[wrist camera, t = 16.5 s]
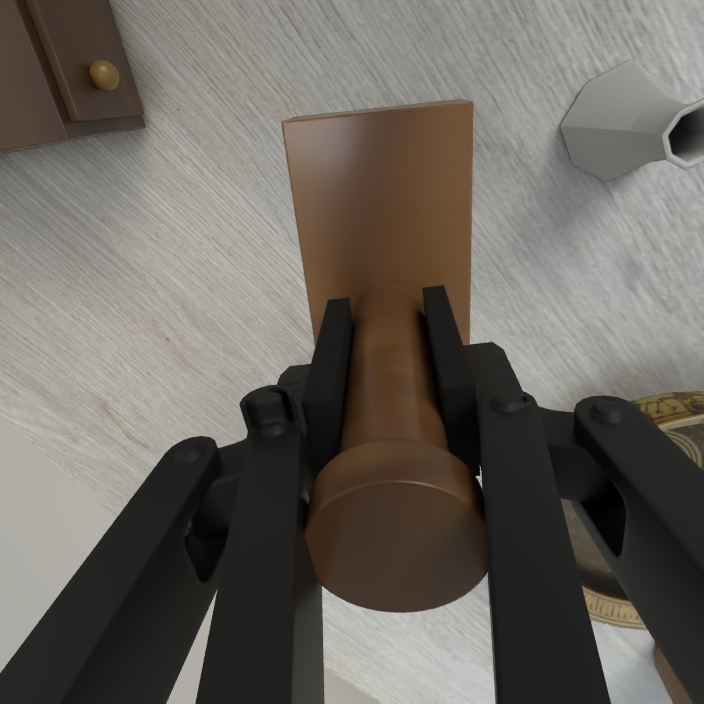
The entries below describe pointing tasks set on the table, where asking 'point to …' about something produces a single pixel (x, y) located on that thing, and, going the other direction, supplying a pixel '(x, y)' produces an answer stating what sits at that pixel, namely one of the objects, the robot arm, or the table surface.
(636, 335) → the table surface
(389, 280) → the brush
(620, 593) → the ceramic bowl
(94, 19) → the cabinet
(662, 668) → the planter
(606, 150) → the flask
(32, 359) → the table surface
